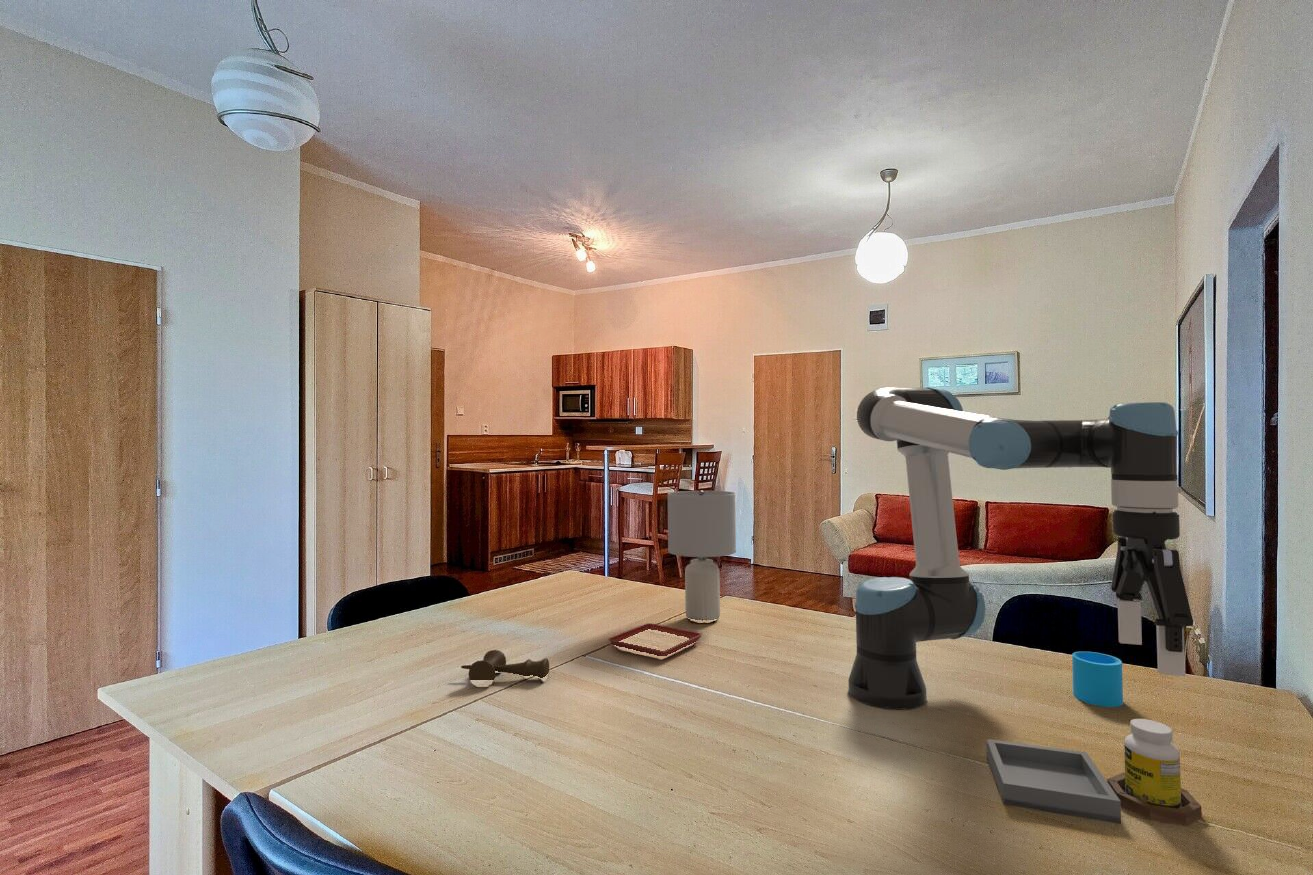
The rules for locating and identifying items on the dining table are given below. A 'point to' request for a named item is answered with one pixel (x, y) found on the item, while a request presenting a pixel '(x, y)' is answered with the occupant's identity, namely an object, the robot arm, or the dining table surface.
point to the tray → (1052, 780)
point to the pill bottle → (1152, 764)
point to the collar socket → (1154, 812)
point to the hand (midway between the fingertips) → (1149, 657)
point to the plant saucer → (679, 632)
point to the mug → (1097, 679)
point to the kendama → (505, 667)
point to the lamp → (702, 544)
